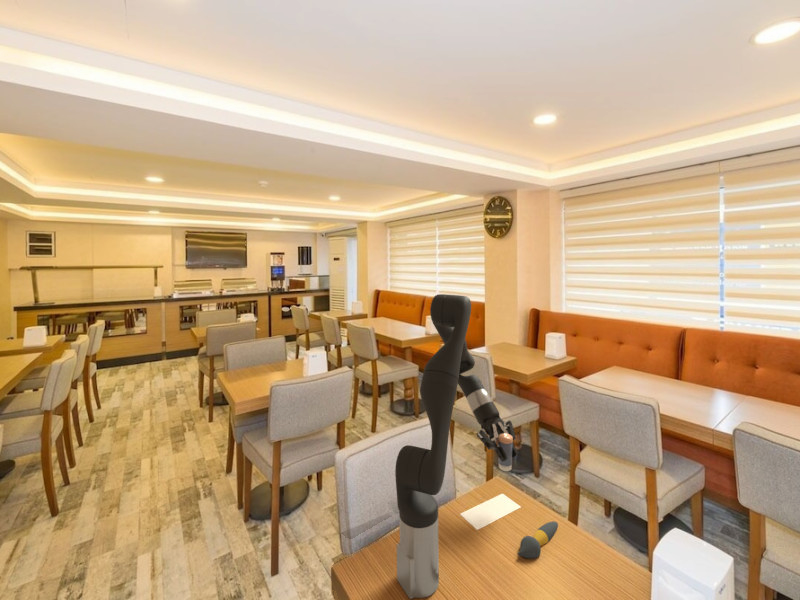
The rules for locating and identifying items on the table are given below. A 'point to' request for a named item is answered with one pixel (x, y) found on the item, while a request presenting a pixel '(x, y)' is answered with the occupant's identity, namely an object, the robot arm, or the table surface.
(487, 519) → the whiteboard
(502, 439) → the peach capped blue cylinder
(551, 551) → the table surface
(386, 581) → the table surface
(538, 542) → the paintbrush
